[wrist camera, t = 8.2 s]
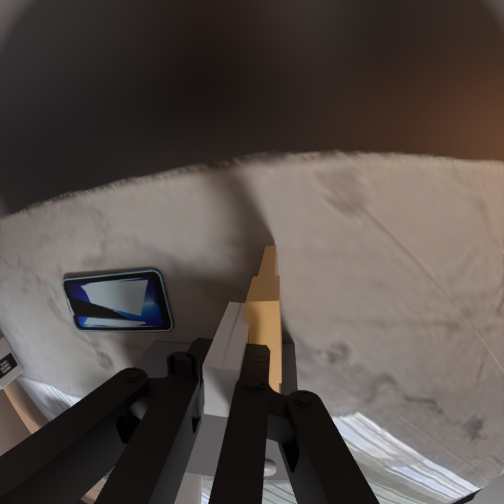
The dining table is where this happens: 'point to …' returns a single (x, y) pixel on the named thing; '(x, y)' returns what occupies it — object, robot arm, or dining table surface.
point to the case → (214, 426)
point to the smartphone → (119, 302)
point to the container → (8, 364)
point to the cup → (190, 489)
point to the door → (267, 313)
